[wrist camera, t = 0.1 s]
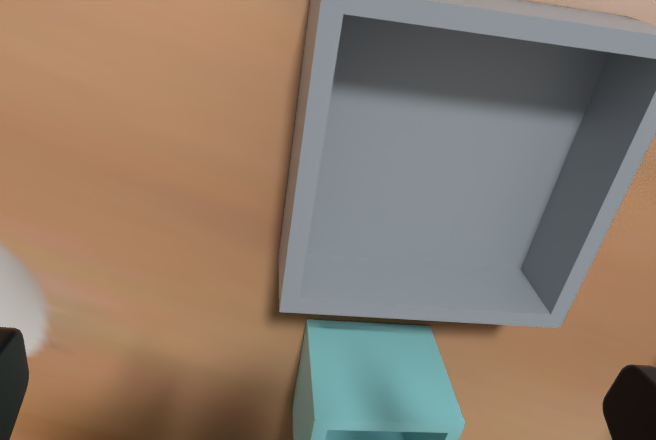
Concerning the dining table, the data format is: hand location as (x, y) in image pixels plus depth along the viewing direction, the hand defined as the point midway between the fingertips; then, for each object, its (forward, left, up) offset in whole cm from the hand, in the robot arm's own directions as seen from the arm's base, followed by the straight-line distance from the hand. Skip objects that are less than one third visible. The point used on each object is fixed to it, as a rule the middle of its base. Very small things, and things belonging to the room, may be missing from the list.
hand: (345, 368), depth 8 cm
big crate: (-2, -6, -15) cm, 16 cm away
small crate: (-15, -5, -15) cm, 22 cm away
